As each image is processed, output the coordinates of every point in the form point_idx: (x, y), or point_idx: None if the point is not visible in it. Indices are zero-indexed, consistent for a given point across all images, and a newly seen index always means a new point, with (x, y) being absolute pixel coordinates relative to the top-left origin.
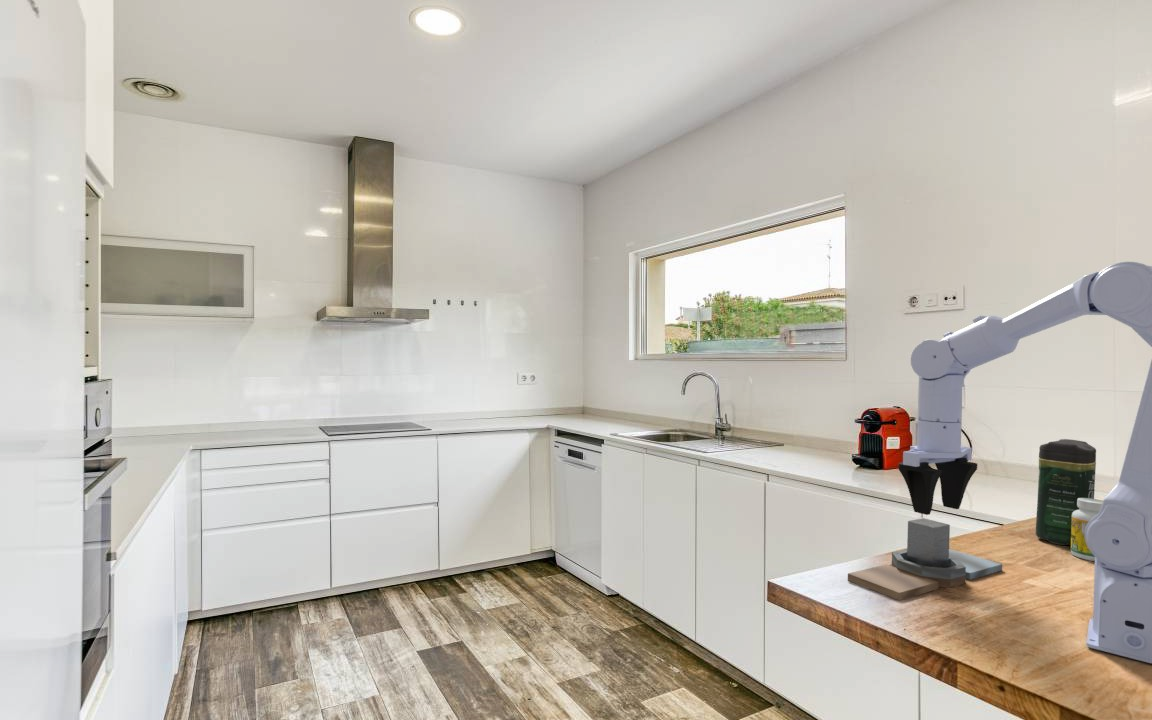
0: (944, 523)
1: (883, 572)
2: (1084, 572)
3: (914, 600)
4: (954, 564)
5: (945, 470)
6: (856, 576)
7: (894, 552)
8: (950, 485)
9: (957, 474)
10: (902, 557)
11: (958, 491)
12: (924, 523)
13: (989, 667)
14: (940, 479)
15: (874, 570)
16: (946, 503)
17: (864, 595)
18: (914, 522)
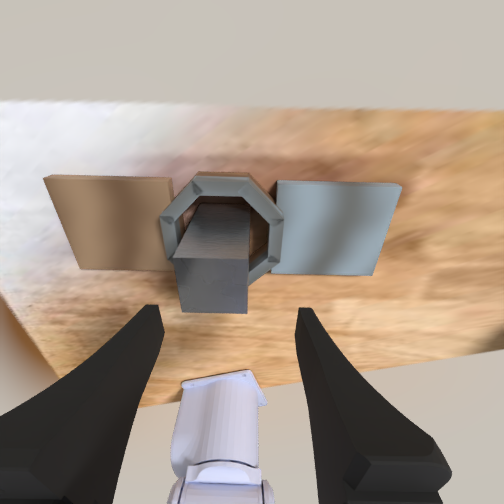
0: (245, 304)
1: (123, 206)
2: (458, 319)
3: (110, 270)
4: (251, 268)
5: (331, 436)
6: (52, 196)
7: (196, 183)
8: (313, 383)
9: (319, 451)
10: (183, 211)
11: (305, 385)
12: (196, 285)
13: (60, 364)
14: (325, 375)
15: (112, 192)
16: (299, 321)
17: (42, 229)
18: (177, 271)
